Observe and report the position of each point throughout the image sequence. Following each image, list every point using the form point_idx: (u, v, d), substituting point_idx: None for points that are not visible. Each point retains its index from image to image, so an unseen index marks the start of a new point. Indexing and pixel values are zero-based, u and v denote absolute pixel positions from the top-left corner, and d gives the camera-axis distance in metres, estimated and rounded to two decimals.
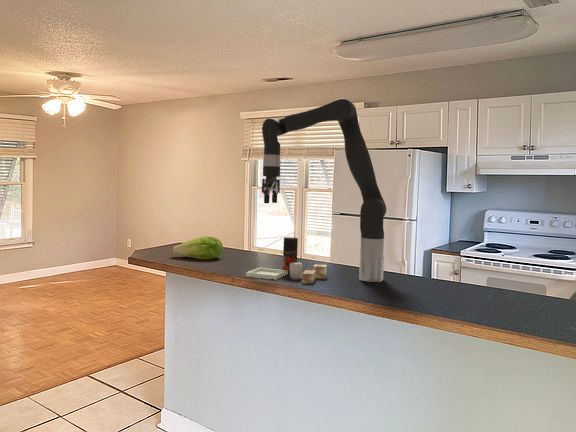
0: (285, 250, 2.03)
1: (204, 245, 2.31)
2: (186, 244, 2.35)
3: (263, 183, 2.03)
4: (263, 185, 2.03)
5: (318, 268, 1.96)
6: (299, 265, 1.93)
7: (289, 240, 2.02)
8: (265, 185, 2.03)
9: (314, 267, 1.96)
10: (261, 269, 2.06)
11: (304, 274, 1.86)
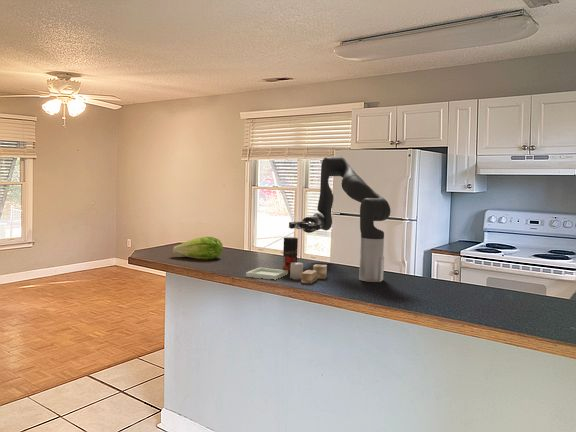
0: (285, 250, 2.03)
1: (204, 245, 2.31)
2: (186, 244, 2.35)
3: None
4: None
5: (318, 268, 1.96)
6: (300, 265, 1.93)
7: (289, 240, 2.02)
8: None
9: (314, 267, 1.96)
10: (261, 269, 2.06)
11: (303, 274, 1.86)
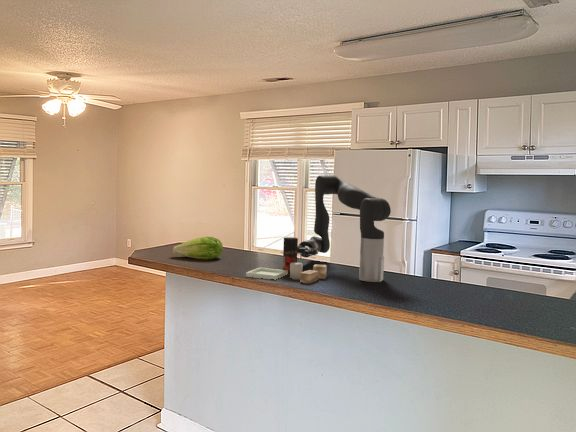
0: (285, 250, 2.03)
1: (204, 245, 2.31)
2: (186, 244, 2.35)
3: None
4: None
5: (318, 268, 1.96)
6: (299, 265, 1.93)
7: (289, 240, 2.02)
8: None
9: (314, 267, 1.96)
10: (261, 269, 2.06)
11: (301, 274, 1.87)
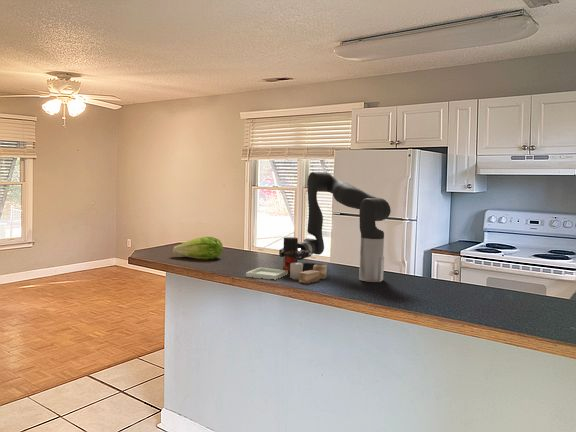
0: (285, 250, 2.03)
1: (204, 245, 2.31)
2: (186, 244, 2.35)
3: None
4: None
5: (318, 268, 1.96)
6: (299, 265, 1.93)
7: (289, 240, 2.02)
8: None
9: (314, 267, 1.96)
10: (261, 269, 2.06)
11: (300, 273, 1.87)
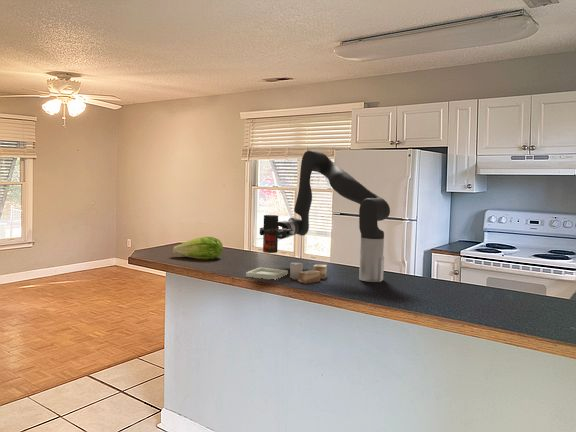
0: (265, 228, 1.96)
1: (204, 245, 2.31)
2: (186, 244, 2.35)
3: None
4: None
5: (318, 268, 1.96)
6: (299, 265, 1.93)
7: (269, 217, 1.95)
8: None
9: (314, 267, 1.96)
10: (261, 269, 2.06)
11: (299, 273, 1.88)
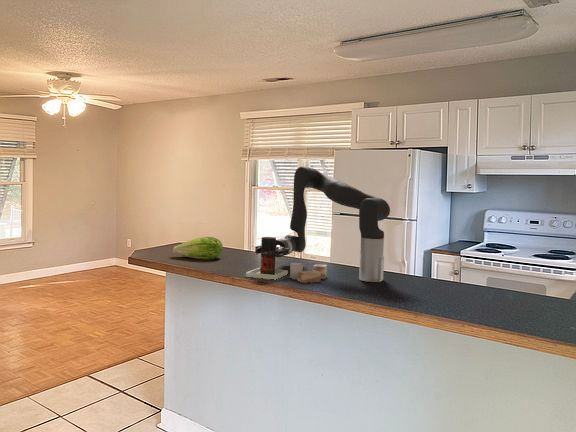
0: (263, 250, 1.96)
1: (204, 245, 2.31)
2: (186, 244, 2.35)
3: None
4: None
5: (318, 268, 1.96)
6: (299, 265, 1.93)
7: (267, 240, 1.95)
8: None
9: (314, 267, 1.96)
10: None
11: (299, 272, 1.89)
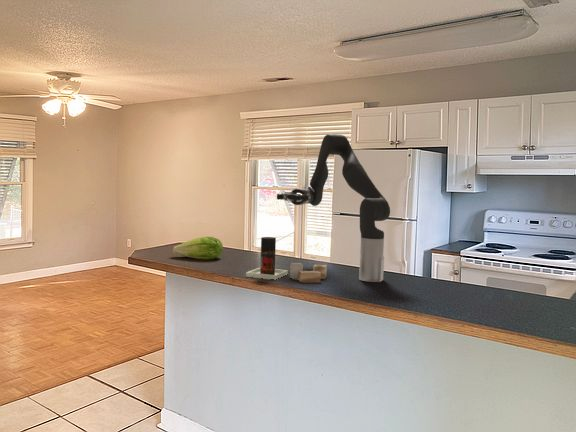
0: (262, 250, 1.96)
1: (204, 245, 2.31)
2: (186, 244, 2.35)
3: None
4: None
5: (318, 268, 1.96)
6: (299, 265, 1.93)
7: (266, 240, 1.95)
8: None
9: (314, 267, 1.96)
10: None
11: (298, 272, 1.90)
